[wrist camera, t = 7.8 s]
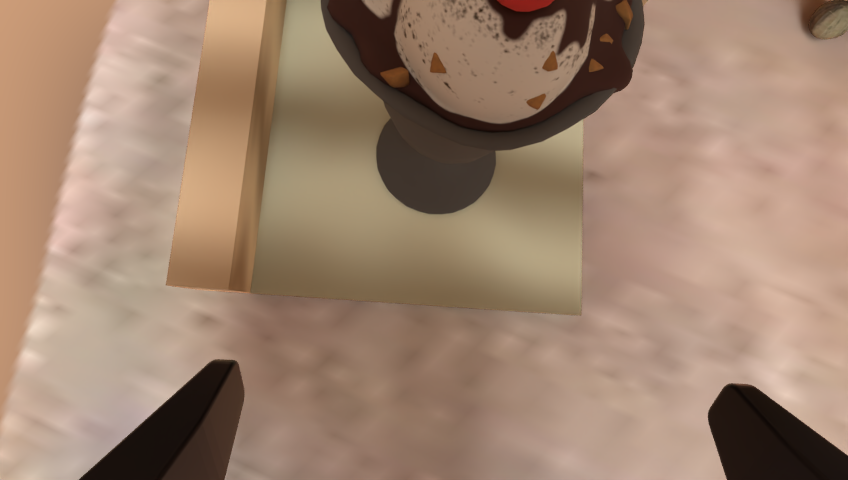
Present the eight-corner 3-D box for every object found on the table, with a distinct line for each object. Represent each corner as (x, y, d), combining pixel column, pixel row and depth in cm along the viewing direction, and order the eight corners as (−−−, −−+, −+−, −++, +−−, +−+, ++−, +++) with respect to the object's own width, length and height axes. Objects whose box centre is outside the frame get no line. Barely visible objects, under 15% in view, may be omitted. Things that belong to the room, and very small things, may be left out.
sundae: (447, 271, 19) (679, 88, 4) (321, 161, 19) (89, -394, 4) (548, 153, 20) (1024, -335, 5) (428, 52, 20) (541, -685, 5)
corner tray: (623, 318, 19) (665, 319, 16) (201, 289, 18) (165, 285, 15) (622, -9, 22) (658, -59, 19) (249, -51, 21) (226, -111, 18)
